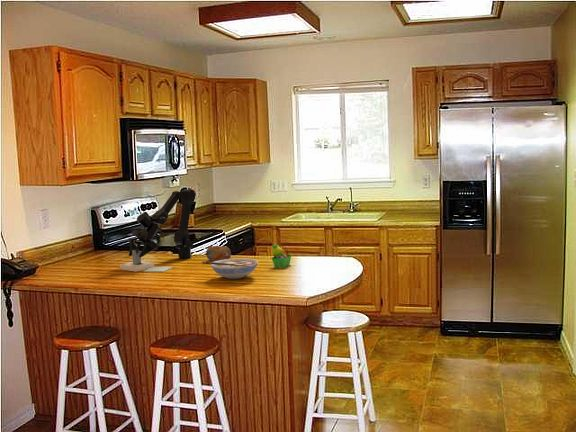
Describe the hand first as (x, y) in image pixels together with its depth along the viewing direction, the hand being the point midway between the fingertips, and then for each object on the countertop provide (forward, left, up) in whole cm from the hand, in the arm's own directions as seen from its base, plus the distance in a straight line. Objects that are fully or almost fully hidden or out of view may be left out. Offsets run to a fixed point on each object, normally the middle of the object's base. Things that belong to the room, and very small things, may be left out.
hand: (134, 256), depth 330 cm
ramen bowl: (-54, +36, -7) cm, 65 cm away
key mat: (-13, +6, -7) cm, 16 cm away
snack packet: (-44, -11, -7) cm, 46 cm away
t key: (-1, -1, -7) cm, 7 cm away
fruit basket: (-77, +12, -7) cm, 78 cm away
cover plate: (-1, -1, -7) cm, 7 cm away
